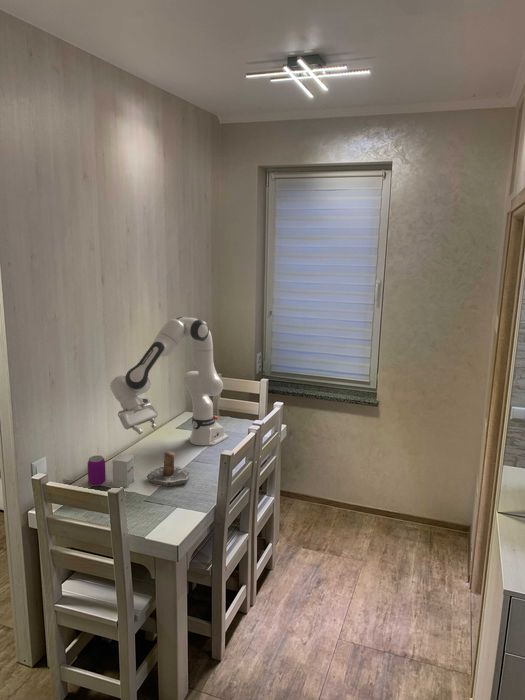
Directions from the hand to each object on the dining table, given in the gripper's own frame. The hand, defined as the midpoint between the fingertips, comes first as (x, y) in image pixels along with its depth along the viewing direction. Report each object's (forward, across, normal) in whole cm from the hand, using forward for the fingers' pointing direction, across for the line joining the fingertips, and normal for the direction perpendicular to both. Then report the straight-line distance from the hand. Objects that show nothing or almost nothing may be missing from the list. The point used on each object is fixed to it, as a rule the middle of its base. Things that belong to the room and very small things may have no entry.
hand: (148, 430), depth 241 cm
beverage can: (+7, -21, +23) cm, 32 cm away
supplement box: (+14, -15, +16) cm, 26 cm away
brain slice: (+24, 0, +7) cm, 25 cm away
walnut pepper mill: (+22, 0, +4) cm, 22 cm away
